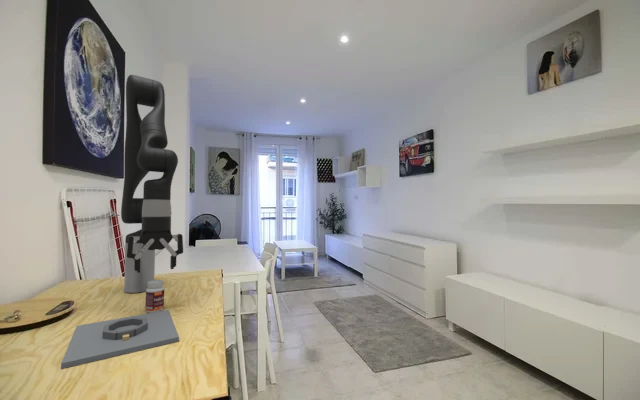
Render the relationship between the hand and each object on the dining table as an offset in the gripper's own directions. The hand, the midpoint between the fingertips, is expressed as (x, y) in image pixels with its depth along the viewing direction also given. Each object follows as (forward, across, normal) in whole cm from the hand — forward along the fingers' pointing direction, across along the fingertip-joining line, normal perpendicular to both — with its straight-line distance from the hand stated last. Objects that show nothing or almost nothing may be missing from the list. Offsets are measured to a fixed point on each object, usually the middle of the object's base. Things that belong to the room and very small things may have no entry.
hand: (155, 270), depth 83 cm
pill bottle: (+12, 0, 0) cm, 12 cm away
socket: (+12, +7, +15) cm, 20 cm away
